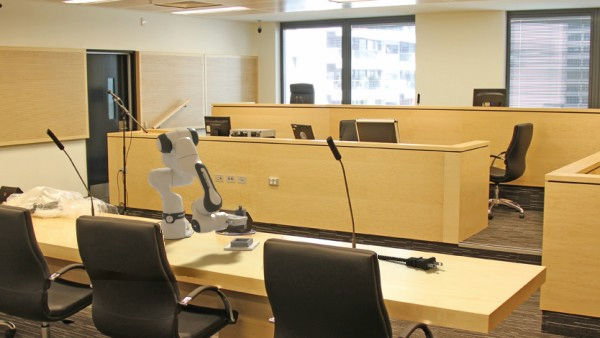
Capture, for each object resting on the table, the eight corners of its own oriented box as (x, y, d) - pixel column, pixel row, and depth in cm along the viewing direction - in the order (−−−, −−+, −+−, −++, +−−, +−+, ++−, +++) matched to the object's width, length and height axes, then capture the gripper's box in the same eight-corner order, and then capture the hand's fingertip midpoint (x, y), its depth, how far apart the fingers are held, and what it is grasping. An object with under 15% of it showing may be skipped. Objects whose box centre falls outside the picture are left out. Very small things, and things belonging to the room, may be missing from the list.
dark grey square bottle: (238, 227, 385) (237, 204, 383) (246, 227, 384) (245, 204, 382) (235, 229, 380) (234, 206, 379) (244, 229, 379) (243, 206, 378)
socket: (232, 243, 392) (232, 236, 392) (259, 243, 389) (259, 237, 389) (223, 249, 378) (223, 243, 377) (252, 250, 375) (251, 243, 374)
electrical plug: (434, 272, 325) (433, 261, 324) (361, 261, 353) (360, 251, 353) (445, 268, 331) (444, 257, 330) (372, 258, 360) (371, 248, 359)
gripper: (233, 217, 365) (254, 213, 374) (208, 212, 379) (229, 208, 389) (233, 229, 365) (255, 225, 375) (209, 224, 380) (230, 220, 390)
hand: (242, 216), depth 382 cm, fingers closed on dark grey square bottle, 6 cm apart
